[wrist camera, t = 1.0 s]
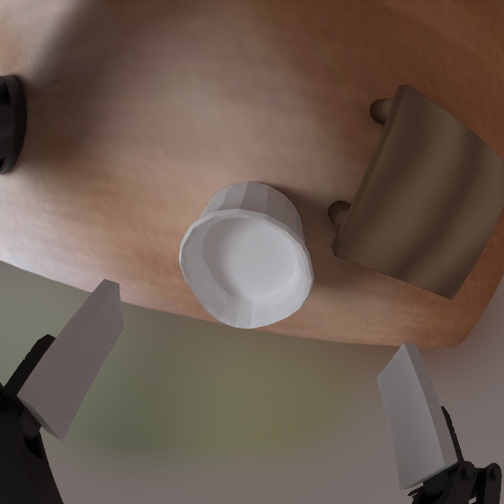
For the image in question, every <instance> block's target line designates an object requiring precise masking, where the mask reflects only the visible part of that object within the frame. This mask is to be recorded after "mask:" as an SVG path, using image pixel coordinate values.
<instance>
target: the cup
mask: <svg viewBox="0 0 504 504" xmlns="http://www.w3.org/2000/svg"><path fill="white" fill-rule="evenodd" d="M179 263H180V266H181V269H182V272H183V275H184V277H185V280H186V282H187V284H188V285H189V287H190V288H191V290H192V292H193V293H194V295H195V296H196V298H197V299H198V300H199V302H200V303H201V304H202V305H203V307H204V308H205V309H206V310H207V311H208V312H209V313H210V314H211V315H212V316H214V317H215V318H216V319H217V320H218V321H220V322H223V323H225V324H228V325H230V326H233V327H237V328H249V329H252V328H256V327H261V326H266V325H270V324H273V323H275V322H278V321H280V320H283V319H285V318H287V317H288V316H290V315H291V314H292V313H294V312H295V311H297V310H298V309H299V308H301V307H302V306H303V304H304V303H305V301H306V300H307V298H308V296H309V295H310V293H311V291H312V286H313V281H314V274H313V268H312V263H311V258H310V253H309V252H308V250H307V248H306V246H305V238H304V233H303V228H302V223H301V218H300V215H299V213H298V211H297V209H296V208H295V206H294V205H293V204H292V202H291V201H290V200H289V199H288V198H287V197H286V196H285V195H284V194H282V193H281V192H279V191H277V190H276V189H274V188H272V187H271V186H269V185H265V184H260V183H255V182H250V181H248V182H242V183H236V184H231V185H229V186H228V187H226V188H224V189H222V190H221V191H219V192H217V193H216V194H215V195H214V196H213V198H212V199H211V200H210V202H209V204H208V205H207V207H206V208H205V210H204V212H203V213H202V215H201V217H200V219H199V220H197V221H196V222H194V223H192V225H191V226H190V228H189V230H188V231H187V233H186V235H185V237H184V238H183V240H182V242H181V247H180V256H179Z"/></svg>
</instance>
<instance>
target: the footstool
mask: <svg viewBox="0 0 504 504" xmlns="http://www.w3.org/2000/svg"><path fill="white" fill-rule="evenodd" d="M370 113H371V116H372V118H373V119H374V120H375V121H376V122H377V123H380V124H385V126H384V129H383V131H382V134H381V136H380V139H379V141H378V144H377V146H376V149H375V151H374V154H373V156H372V158H371V161H370V163H369V166H368V168H367V170H366V173H365V175H364V177H363V180H362V182H361V184H360V187H359V189H358V191H357V193H356V195H355V198H354V200H353V202H352V204H351V206H350V205H349V204H348V203H347V202H345V201H336V202H334V203H333V204H332V205H331V206H330V208H329V211H328V215H329V218H330V220H331V222H332V224H333V226H334V228H335V230H336V232H337V236H336V238H335V240H334V242H333V244H332V246H331V248H332V250H333V253H334V256H337V257H340V258H342V259H345V260H348V261H351V262H353V263H356V264H359V265H362V266H364V267H367V268H370V269H373V270H375V271H378V272H381V273H383V274H386V275H389V276H391V277H394V278H397V279H399V280H402V281H404V282H407V283H410V284H412V285H415V286H418V287H420V288H423V289H425V290H428V291H430V292H433V293H436V294H438V295H441V296H443V297H446V298H448V299H451V300H452V299H453V298H454V296H455V295H456V293H457V292H458V290H459V289H460V287H461V286H462V284H463V282H464V281H465V279H466V278H467V276H468V274H469V273H470V271H471V269H472V268H473V266H474V264H475V263H476V261H477V259H478V257H479V256H480V254H481V252H482V250H483V248H484V247H485V245H486V243H487V241H488V239H489V237H490V235H491V233H492V231H493V229H494V227H495V225H496V223H497V220H498V218H499V216H500V214H501V212H502V209H503V207H504V161H503V160H502V159H501V158H500V157H499V156H498V155H497V154H496V153H495V152H494V151H493V150H492V149H491V148H490V147H489V146H488V145H487V144H486V143H484V142H483V141H482V140H481V139H480V138H479V137H478V136H477V135H475V134H474V133H473V132H472V131H471V130H470V129H468V128H467V127H466V126H465V125H464V124H462V123H461V122H460V121H459V120H457V119H456V118H455V117H454V116H452V115H451V114H450V113H448V112H447V111H446V110H444V109H443V108H442V107H440V106H439V105H437V104H436V103H435V102H433V101H432V100H430V99H429V98H427V97H426V96H424V95H423V94H421V93H420V92H418V91H417V90H415V89H414V88H412V87H410V86H409V85H403V86H399V87H398V90H397V93H396V96H395V98H391V99H383V100H377V101H375V102H373V103H372V105H371V108H370Z"/></svg>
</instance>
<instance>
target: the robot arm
mask: <svg viewBox="0 0 504 504" xmlns="http://www.w3.org/2000/svg"><path fill="white" fill-rule="evenodd" d="M25 126H26V102H25V96H24V92H23V89H22V86H21V84H20V82H19V81H18V80H17V79H16V78H15V77H13V76H10V75H7V76H0V174H3V173H5V172H7V171H8V170H9V169H11V167H12V166H13V165H14V163H15V162H16V160H17V158H18V156H19V153H20V150H21V147H22V144H23V139H24V134H25ZM122 330H123V320H122V311H121V301H120V290H119V283H116V282H113V281H109V280H106V279H104V280H103V281H102V282H101V283H100V284H99V286H98V287H97V288H96V289H95V290H94V291H93V293H92V294H91V295H90V296H89V297H88V299H87V300H86V301H85V302H84V304H83V305H82V306H81V307H80V308H79V309H78V311H77V312H76V313H75V314H74V316H73V317H72V318H71V319H70V321H69V322H68V323H67V325H66V326H65V327H64V328H63V330H62V331H61V332H60V334H59V335H58V336H57V338H55V337H53V336H51V335H49V334H47V335H45V336H44V337H43V338H41V339H39V340H38V341H37V342H36V343H35V345H34V346H33V348H32V349H31V351H30V352H29V353H28V354H27V355H26V357H25V359H24V360H23V361H22V362H21V364H20V365H19V366H18V368H17V369H16V371H15V372H14V374H13V375H12V376H11V378H10V379H9V381H8V382H7V384H6V385H5V386H4V387H3V386H2V385H1V383H0V504H64V503H63V501H62V499H61V497H60V494H59V491H58V489H57V486H56V483H55V481H54V478H53V475H52V472H51V469H50V466H49V463H48V460H47V456H46V453H45V449H44V446H43V442H42V438H41V434H40V432H39V430H40V428H41V426H42V427H43V428H44V429H45V430H46V431H47V432H48V433H49V434H51V435H53V436H54V437H56V438H58V439H60V440H61V441H63V440H64V438H65V436H66V434H67V432H68V430H69V427H70V425H71V423H72V421H73V419H74V417H75V415H76V413H77V411H78V409H79V407H80V405H81V403H82V401H83V400H84V398H85V396H86V394H87V392H88V390H89V388H90V386H91V384H92V383H93V381H94V379H95V377H96V375H97V373H98V371H99V370H100V368H101V366H102V365H103V363H104V361H105V359H106V357H107V356H108V354H109V352H110V351H111V349H112V347H113V345H114V344H115V342H116V340H117V339H118V337H119V335H120V333H121V332H122ZM377 381H378V385H379V389H380V392H381V397H382V401H383V405H384V409H385V413H386V417H387V421H388V426H389V430H390V435H391V439H392V445H393V449H394V455H395V460H396V466H397V471H398V477H399V483H400V490H403V489H407V488H411V487H414V486H416V485H418V484H420V483H422V482H423V486H421V487H419V488H417V489H415V490H413V491H411V492H410V493H409V494H408V496H411V495H413V494H416V493H417V494H416V495H414V496H413V497H412V498H413V499H414V500H413V502H412V504H469V500H470V499H473V498H475V497H476V502H474V503H472V504H499V501H500V492H501V478H502V473H501V469H500V467H499V465H498V464H496V463H492V464H490V465H489V466H487V467H486V468H475V467H474V465H473V464H472V463H471V462H469V461H464V459H463V456H462V453H461V449H460V446H459V443H458V439H457V436H456V433H454V432H455V430H454V427H453V426H452V421H451V419H450V415H449V414H448V413H447V411H446V410H445V408H444V407H443V406H440V403H439V401H438V398H437V395H436V393H435V390H434V387H433V385H432V383H431V380H430V378H429V375H428V372H427V370H426V368H425V366H424V363H423V361H422V358H421V356H420V354H419V352H418V349H417V347H416V345H415V344H410V343H403V344H402V346H401V347H400V349H399V350H398V351H397V353H396V354H395V356H394V357H393V358H392V360H391V361H390V362H389V363H388V365H387V366H386V367H385V369H384V370H383V371H382V372H381V373H380V375H379V376H378V377H377Z"/></svg>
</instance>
